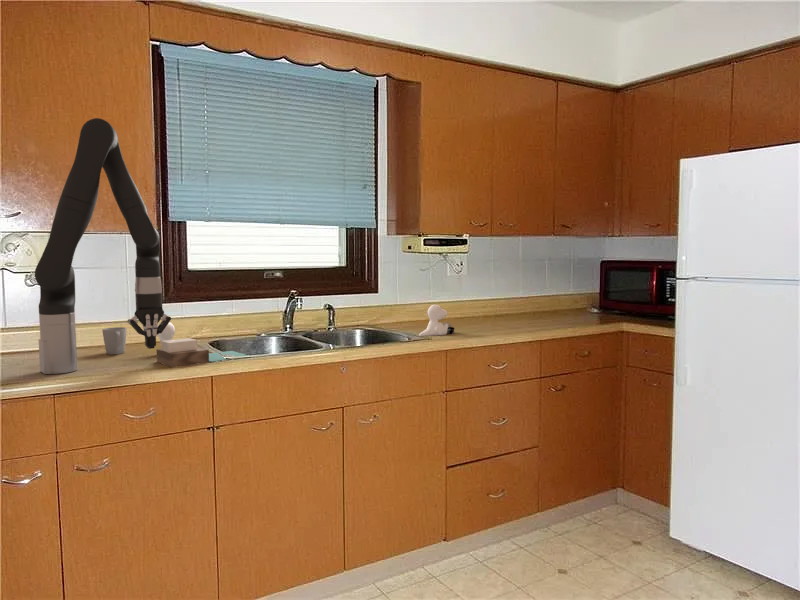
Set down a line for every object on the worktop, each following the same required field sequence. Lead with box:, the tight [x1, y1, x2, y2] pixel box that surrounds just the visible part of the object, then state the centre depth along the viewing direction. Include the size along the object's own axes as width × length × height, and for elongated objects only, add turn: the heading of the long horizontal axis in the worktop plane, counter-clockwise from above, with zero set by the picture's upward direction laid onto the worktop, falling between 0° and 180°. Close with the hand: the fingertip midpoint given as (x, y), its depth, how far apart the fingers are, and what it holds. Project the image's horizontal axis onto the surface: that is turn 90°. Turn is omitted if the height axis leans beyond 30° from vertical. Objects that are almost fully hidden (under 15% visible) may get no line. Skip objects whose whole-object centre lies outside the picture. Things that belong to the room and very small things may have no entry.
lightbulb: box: [156, 321, 176, 342], centre depth 215 cm, size 6×6×11 cm
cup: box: [102, 326, 127, 356], centre depth 215 cm, size 8×10×8 cm
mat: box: [208, 350, 250, 363], centre depth 209 cm, size 14×14×1 cm
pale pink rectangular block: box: [160, 337, 198, 353], centre depth 199 cm, size 9×6×3 cm, turn 131°
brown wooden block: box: [156, 346, 210, 368], centre depth 200 cm, size 12×12×4 cm
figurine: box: [418, 304, 456, 337], centre depth 260 cm, size 8×18×12 cm, turn 125°
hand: (150, 348), depth 193 cm, fingers closed
